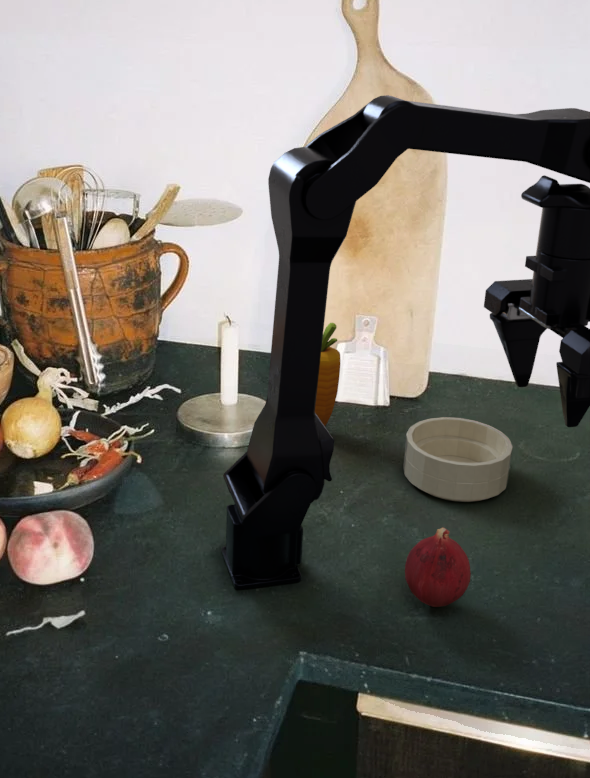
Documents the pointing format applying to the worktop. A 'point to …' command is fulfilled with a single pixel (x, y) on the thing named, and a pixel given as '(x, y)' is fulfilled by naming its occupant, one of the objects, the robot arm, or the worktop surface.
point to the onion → (437, 570)
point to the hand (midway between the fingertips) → (545, 405)
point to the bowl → (457, 459)
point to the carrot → (327, 376)
